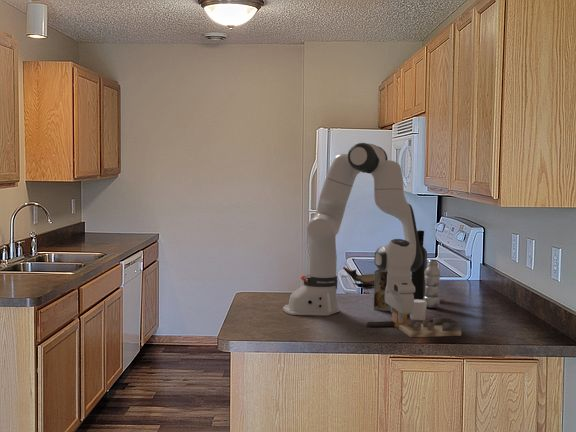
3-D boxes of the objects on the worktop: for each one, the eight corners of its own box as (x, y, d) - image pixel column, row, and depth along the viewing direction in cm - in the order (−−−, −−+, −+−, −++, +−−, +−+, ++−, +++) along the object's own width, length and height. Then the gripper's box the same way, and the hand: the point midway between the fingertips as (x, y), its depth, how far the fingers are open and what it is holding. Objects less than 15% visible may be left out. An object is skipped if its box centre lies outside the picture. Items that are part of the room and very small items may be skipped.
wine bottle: (413, 296, 304) (416, 229, 301) (426, 297, 301) (428, 230, 298) (409, 298, 299) (412, 230, 296) (422, 299, 296) (425, 231, 293)
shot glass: (422, 321, 257) (423, 303, 256) (405, 318, 261) (406, 301, 260) (428, 318, 263) (429, 300, 262) (412, 315, 267) (412, 298, 266)
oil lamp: (386, 293, 309) (387, 276, 308) (336, 283, 330) (337, 268, 329) (414, 287, 325) (415, 271, 324) (365, 278, 346) (365, 263, 345)
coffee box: (399, 309, 277) (400, 270, 276) (394, 312, 271) (396, 272, 270) (377, 306, 281) (379, 268, 279) (373, 309, 275) (374, 270, 274)
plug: (368, 328, 245) (368, 314, 245) (364, 325, 249) (365, 312, 249) (406, 327, 248) (407, 313, 248) (402, 324, 252) (403, 311, 252)
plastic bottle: (439, 309, 277) (441, 261, 275) (422, 308, 278) (424, 260, 277) (439, 306, 283) (441, 259, 282) (422, 305, 285) (424, 258, 283)
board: (410, 337, 234) (410, 325, 234) (398, 329, 245) (399, 318, 245) (462, 335, 238) (462, 324, 238) (449, 327, 249) (449, 316, 249)
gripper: (381, 278, 258) (379, 314, 259) (400, 289, 238) (399, 327, 239) (396, 278, 259) (395, 313, 260) (417, 289, 239) (415, 327, 240)
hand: (397, 320), depth 249 cm, fingers closed on plug, 4 cm apart
